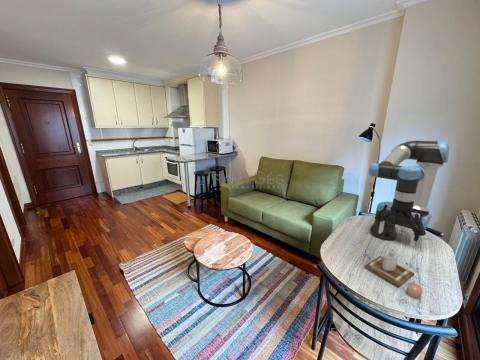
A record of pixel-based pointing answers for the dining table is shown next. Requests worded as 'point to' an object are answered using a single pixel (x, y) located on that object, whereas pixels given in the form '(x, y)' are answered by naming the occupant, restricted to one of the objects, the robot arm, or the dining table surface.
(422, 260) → the dining table surface
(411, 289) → the egg
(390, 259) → the eye dropper bottle
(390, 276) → the board
